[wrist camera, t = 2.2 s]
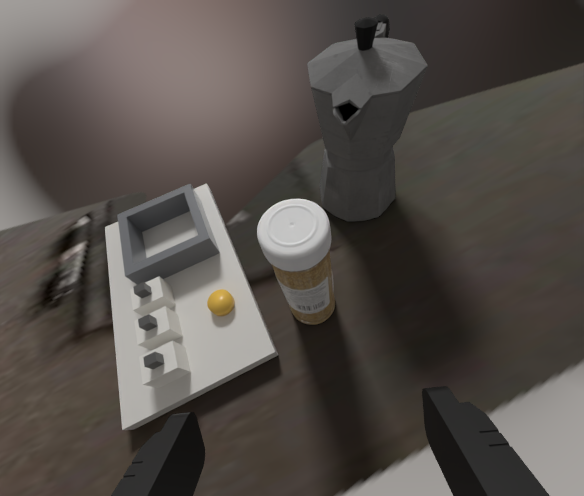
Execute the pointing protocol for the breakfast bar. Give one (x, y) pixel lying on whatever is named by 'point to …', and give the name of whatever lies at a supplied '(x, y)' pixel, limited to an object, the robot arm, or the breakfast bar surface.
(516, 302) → the breakfast bar surface
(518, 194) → the breakfast bar surface
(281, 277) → the sprinkles bottle
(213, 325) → the breaker panel
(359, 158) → the coffeepot
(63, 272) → the breakfast bar surface
